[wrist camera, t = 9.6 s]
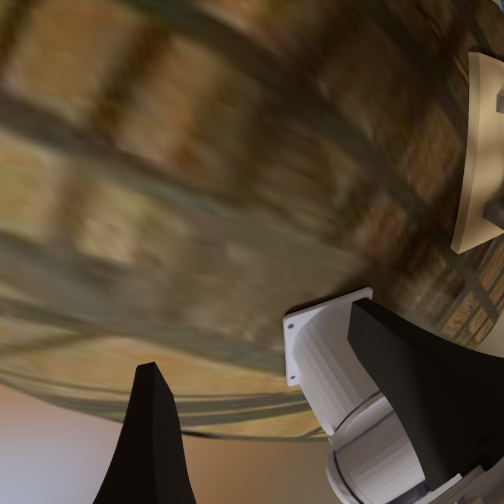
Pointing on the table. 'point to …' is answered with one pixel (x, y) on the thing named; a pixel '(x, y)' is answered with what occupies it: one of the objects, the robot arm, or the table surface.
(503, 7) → the key chain
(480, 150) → the roll holder
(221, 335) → the table surface
